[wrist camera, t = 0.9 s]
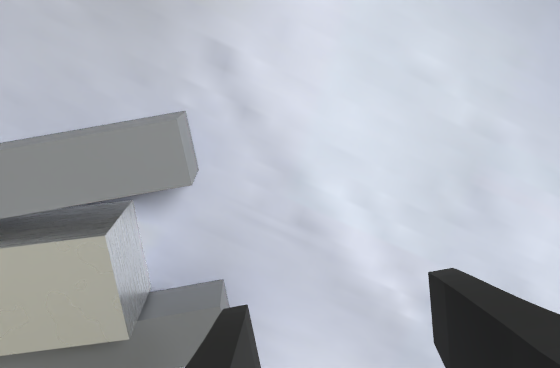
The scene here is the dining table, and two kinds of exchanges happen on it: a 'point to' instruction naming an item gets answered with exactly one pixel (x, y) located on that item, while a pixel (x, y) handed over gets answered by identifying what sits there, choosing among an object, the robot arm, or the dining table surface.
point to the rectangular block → (70, 277)
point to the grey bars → (104, 186)
